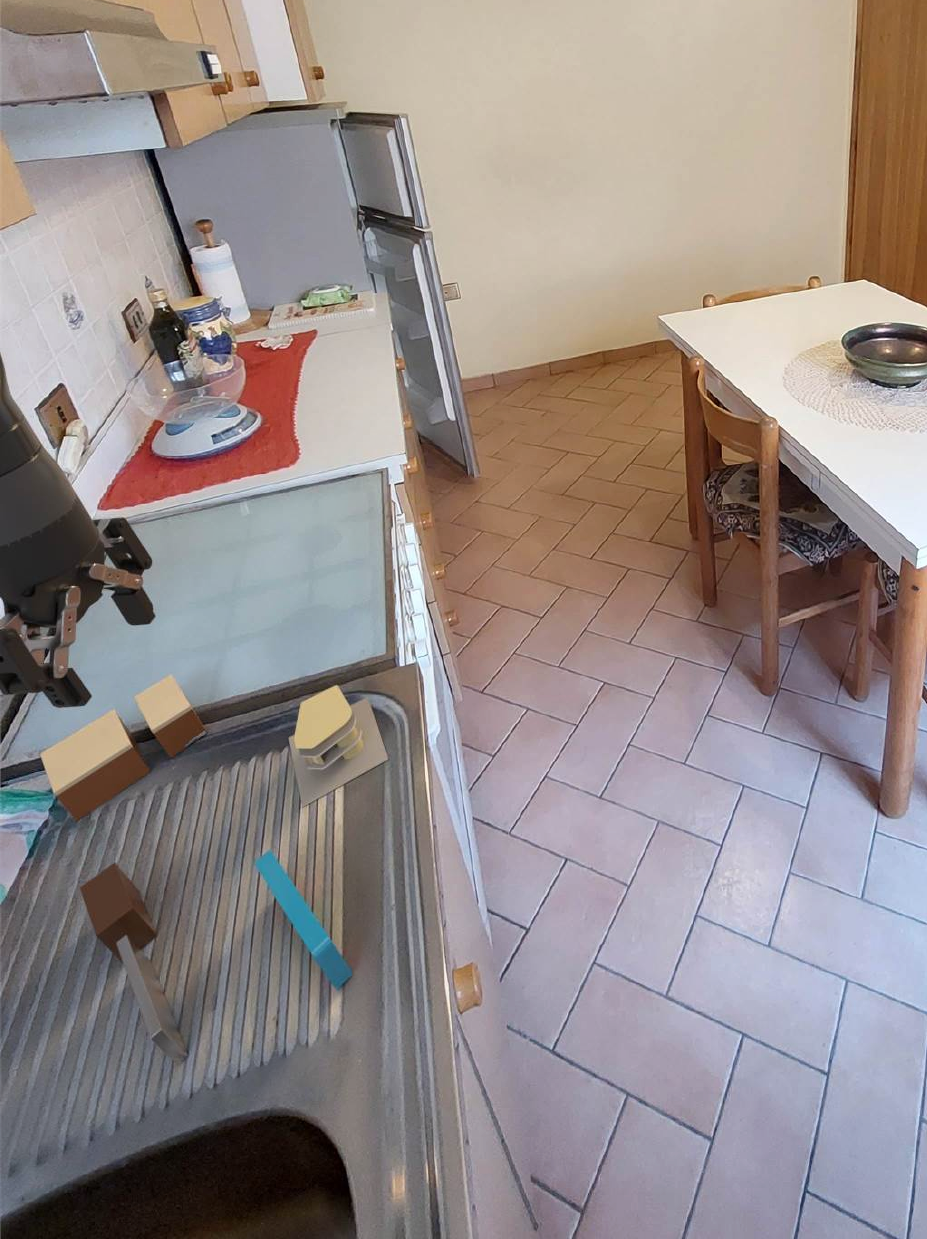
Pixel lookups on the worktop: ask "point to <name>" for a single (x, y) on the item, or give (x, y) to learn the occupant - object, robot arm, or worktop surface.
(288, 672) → the worktop surface
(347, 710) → the stacked layers on plate
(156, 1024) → the knife
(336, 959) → the long teal plank
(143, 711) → the cream topped brown block
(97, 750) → the cake
